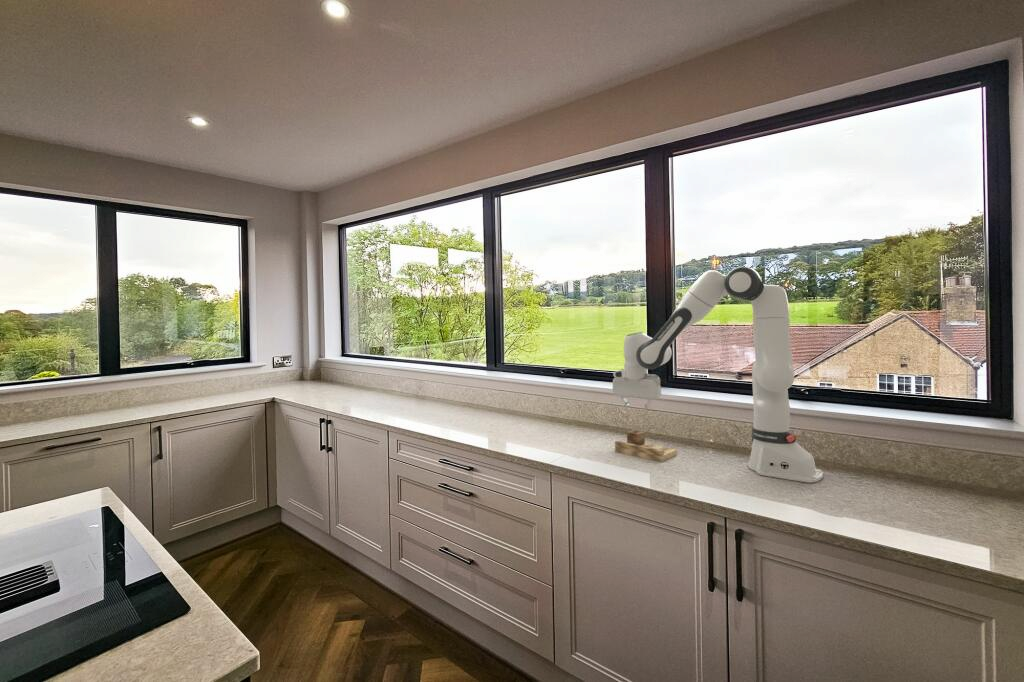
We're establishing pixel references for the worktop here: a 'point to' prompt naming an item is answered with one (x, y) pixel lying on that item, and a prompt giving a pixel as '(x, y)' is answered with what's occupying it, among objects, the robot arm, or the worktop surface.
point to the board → (645, 451)
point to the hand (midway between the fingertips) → (636, 407)
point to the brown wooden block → (636, 437)
